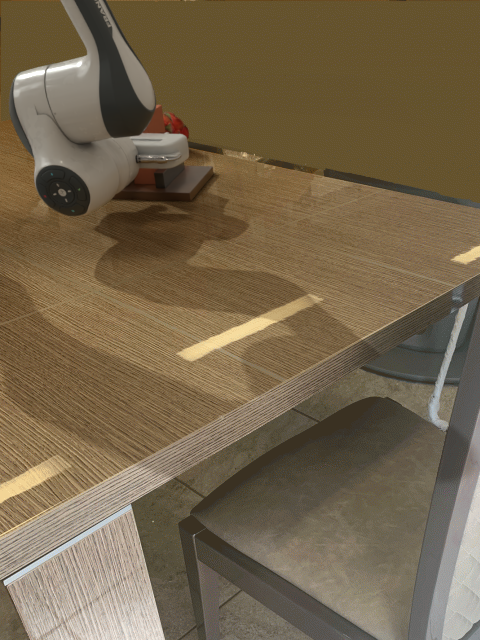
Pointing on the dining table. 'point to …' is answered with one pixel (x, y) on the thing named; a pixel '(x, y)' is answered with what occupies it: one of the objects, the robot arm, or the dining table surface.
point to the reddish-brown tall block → (154, 127)
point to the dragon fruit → (174, 124)
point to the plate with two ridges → (170, 184)
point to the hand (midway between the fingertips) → (138, 136)
